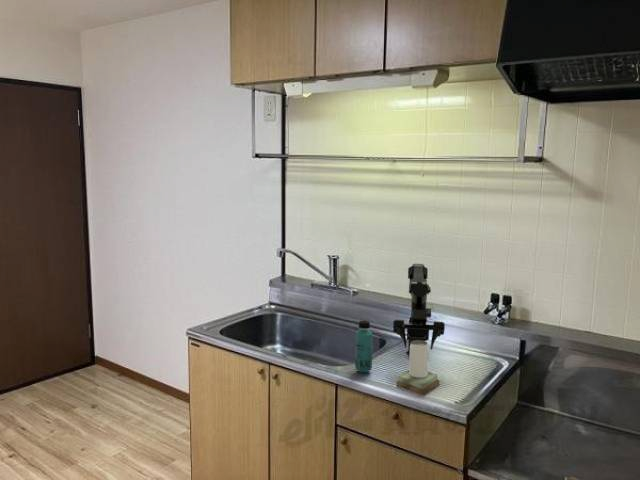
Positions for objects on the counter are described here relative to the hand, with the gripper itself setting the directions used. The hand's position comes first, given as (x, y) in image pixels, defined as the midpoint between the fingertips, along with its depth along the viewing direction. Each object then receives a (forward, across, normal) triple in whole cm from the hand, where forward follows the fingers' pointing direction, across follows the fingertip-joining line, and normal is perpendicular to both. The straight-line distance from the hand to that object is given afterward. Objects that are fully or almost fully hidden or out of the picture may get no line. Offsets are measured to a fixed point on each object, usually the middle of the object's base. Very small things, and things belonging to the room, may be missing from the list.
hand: (418, 348), depth 191 cm
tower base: (+13, 0, +4) cm, 13 cm away
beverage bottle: (+6, -20, +10) cm, 24 cm away
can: (+10, 0, +1) cm, 10 cm away
